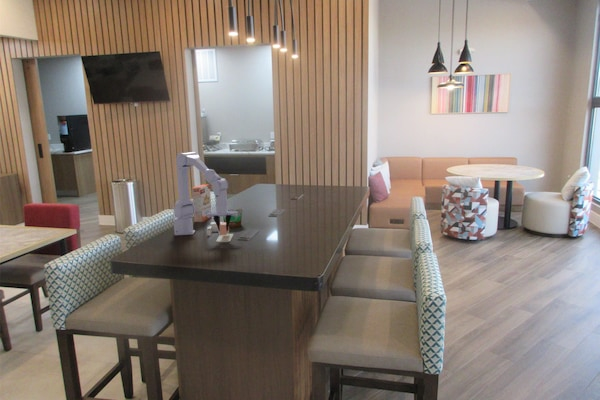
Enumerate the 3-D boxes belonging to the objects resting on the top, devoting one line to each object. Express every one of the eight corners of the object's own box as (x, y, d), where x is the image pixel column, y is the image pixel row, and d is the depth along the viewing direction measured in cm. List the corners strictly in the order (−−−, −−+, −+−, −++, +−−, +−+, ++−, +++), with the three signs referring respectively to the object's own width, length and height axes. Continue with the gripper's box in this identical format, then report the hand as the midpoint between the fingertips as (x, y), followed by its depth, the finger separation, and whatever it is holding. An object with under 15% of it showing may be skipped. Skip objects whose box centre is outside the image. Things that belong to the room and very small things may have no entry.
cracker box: (203, 222, 253) (200, 187, 249) (193, 222, 254) (190, 187, 250) (212, 217, 266) (210, 184, 262) (203, 217, 267) (201, 184, 264)
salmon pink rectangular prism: (219, 235, 211) (219, 225, 210) (222, 232, 221) (222, 222, 220) (226, 234, 211) (225, 224, 210) (229, 231, 221) (228, 222, 220)
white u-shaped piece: (207, 235, 223) (207, 228, 222) (211, 229, 236) (211, 222, 235) (221, 235, 223) (220, 227, 222) (224, 228, 236) (224, 221, 235)
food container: (222, 229, 235) (221, 211, 234) (221, 226, 241) (220, 209, 239) (245, 227, 239) (244, 209, 237) (243, 224, 244) (242, 207, 243)
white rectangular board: (216, 242, 210) (215, 241, 210) (219, 235, 223) (219, 234, 223) (230, 241, 210) (230, 240, 210) (233, 234, 223) (233, 233, 223)
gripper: (205, 205, 206) (207, 233, 208) (235, 204, 206) (237, 231, 209) (207, 203, 213) (209, 229, 215) (237, 201, 213) (238, 228, 216)
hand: (223, 230), depth 212 cm, fingers closed on salmon pink rectangular prism, 3 cm apart
